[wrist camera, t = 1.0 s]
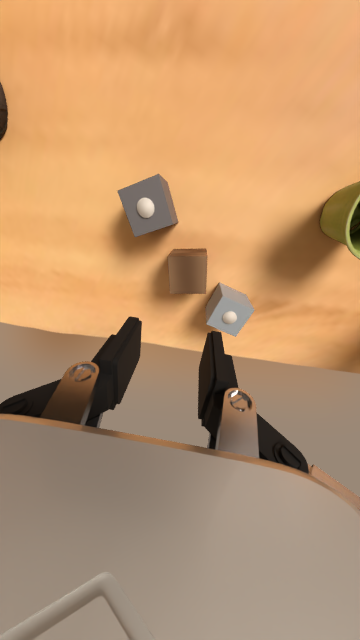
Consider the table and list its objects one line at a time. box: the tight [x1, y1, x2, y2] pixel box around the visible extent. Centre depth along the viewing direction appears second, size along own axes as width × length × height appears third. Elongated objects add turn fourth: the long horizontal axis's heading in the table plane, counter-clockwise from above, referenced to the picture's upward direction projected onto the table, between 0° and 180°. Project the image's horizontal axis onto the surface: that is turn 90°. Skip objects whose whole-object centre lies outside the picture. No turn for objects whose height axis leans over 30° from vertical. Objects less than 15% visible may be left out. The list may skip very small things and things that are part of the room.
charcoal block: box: [118, 174, 178, 237], centre depth 24 cm, size 5×5×6 cm
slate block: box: [205, 283, 254, 337], centre depth 30 cm, size 5×5×6 cm
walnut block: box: [168, 249, 207, 294], centre depth 28 cm, size 5×5×6 cm
